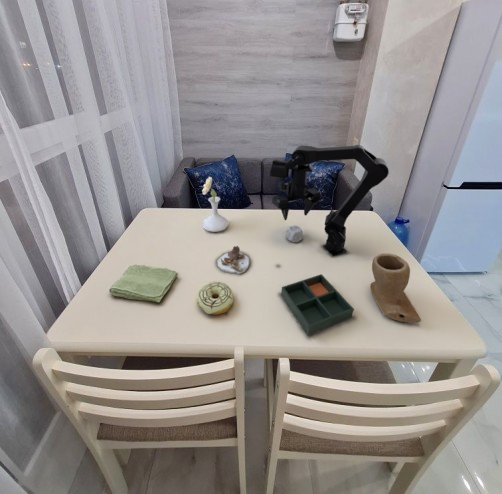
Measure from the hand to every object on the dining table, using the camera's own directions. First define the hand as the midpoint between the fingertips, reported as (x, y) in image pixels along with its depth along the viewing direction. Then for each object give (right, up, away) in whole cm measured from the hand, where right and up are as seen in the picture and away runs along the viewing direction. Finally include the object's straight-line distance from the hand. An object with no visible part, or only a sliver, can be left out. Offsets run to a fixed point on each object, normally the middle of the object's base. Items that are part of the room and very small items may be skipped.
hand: (295, 217), depth 103 cm
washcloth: (-51, -20, -18) cm, 58 cm away
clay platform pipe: (+24, -24, -23) cm, 41 cm away
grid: (+2, -24, -25) cm, 34 cm away
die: (+1, -10, +6) cm, 11 cm away
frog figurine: (-24, -16, -7) cm, 29 cm away
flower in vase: (-33, -6, +13) cm, 36 cm away
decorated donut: (-28, -23, -24) cm, 44 cm away
